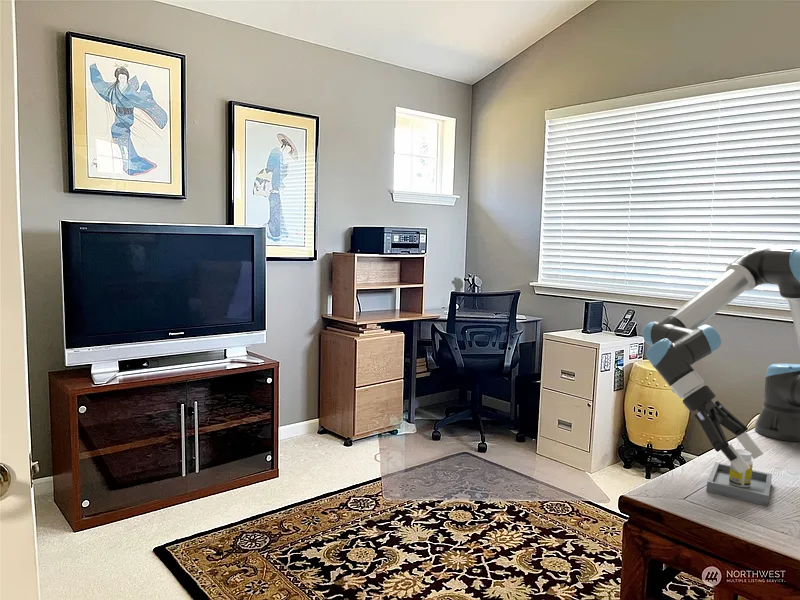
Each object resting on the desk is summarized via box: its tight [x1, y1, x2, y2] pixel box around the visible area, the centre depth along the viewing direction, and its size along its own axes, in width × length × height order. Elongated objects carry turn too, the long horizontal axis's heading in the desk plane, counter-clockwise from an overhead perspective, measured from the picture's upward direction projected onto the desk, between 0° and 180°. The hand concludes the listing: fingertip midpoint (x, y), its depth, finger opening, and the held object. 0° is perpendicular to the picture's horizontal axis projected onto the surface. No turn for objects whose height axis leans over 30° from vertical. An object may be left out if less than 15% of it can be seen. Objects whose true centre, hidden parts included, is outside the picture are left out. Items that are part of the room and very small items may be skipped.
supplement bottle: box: [729, 448, 754, 488], centre depth 150 cm, size 5×5×8 cm
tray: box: [706, 461, 773, 507], centre depth 150 cm, size 16×13×2 cm
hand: (752, 463), depth 148 cm, fingers open, 13 cm apart
